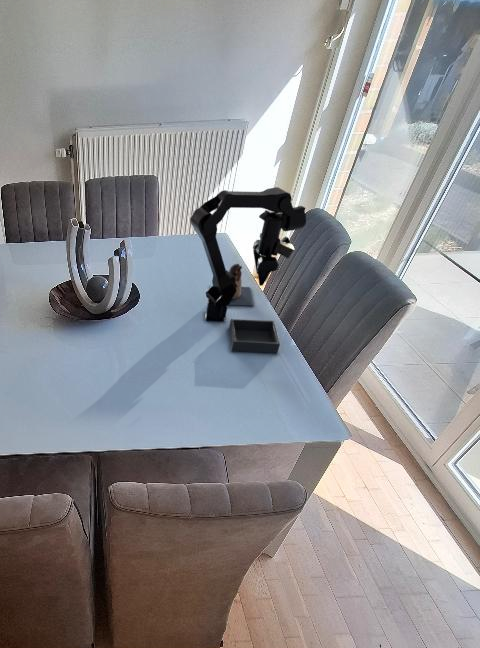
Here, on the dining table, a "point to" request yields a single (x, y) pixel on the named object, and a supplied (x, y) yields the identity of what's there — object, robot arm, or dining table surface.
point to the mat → (242, 298)
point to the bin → (253, 336)
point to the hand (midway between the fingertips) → (259, 279)
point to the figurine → (237, 278)
